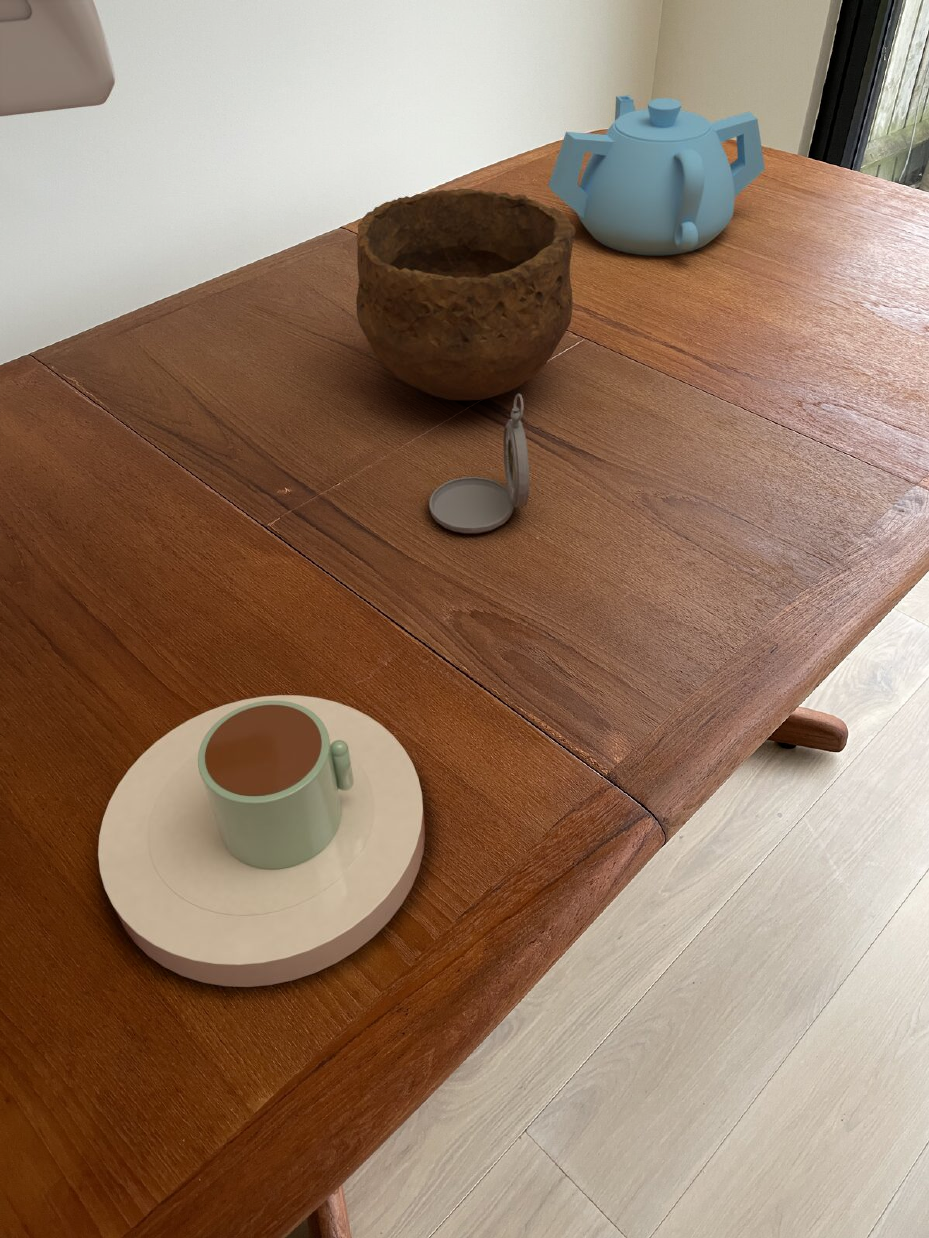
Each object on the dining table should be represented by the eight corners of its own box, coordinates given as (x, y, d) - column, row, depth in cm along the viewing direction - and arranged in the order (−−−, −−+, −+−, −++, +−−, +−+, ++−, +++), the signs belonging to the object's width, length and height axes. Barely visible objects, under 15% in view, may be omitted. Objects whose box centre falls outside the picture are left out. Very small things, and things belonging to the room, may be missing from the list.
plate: (114, 1029, 51) (100, 1006, 49) (105, 756, 63) (94, 731, 62) (461, 934, 54) (460, 910, 52) (387, 693, 66) (384, 667, 65)
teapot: (759, 217, 119) (780, 90, 110) (688, 281, 108) (705, 146, 99) (614, 187, 128) (622, 66, 118) (535, 243, 116) (536, 115, 107)
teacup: (226, 883, 54) (203, 816, 49) (214, 784, 58) (191, 714, 54) (369, 847, 55) (357, 779, 51) (345, 753, 60) (333, 683, 56)
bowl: (609, 373, 95) (622, 214, 85) (484, 466, 85) (481, 298, 74) (455, 317, 104) (449, 166, 93) (324, 394, 93) (302, 235, 83)
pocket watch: (413, 509, 81) (404, 400, 74) (492, 468, 84) (491, 360, 77) (479, 559, 76) (477, 447, 69) (561, 513, 80) (566, 402, 73)
